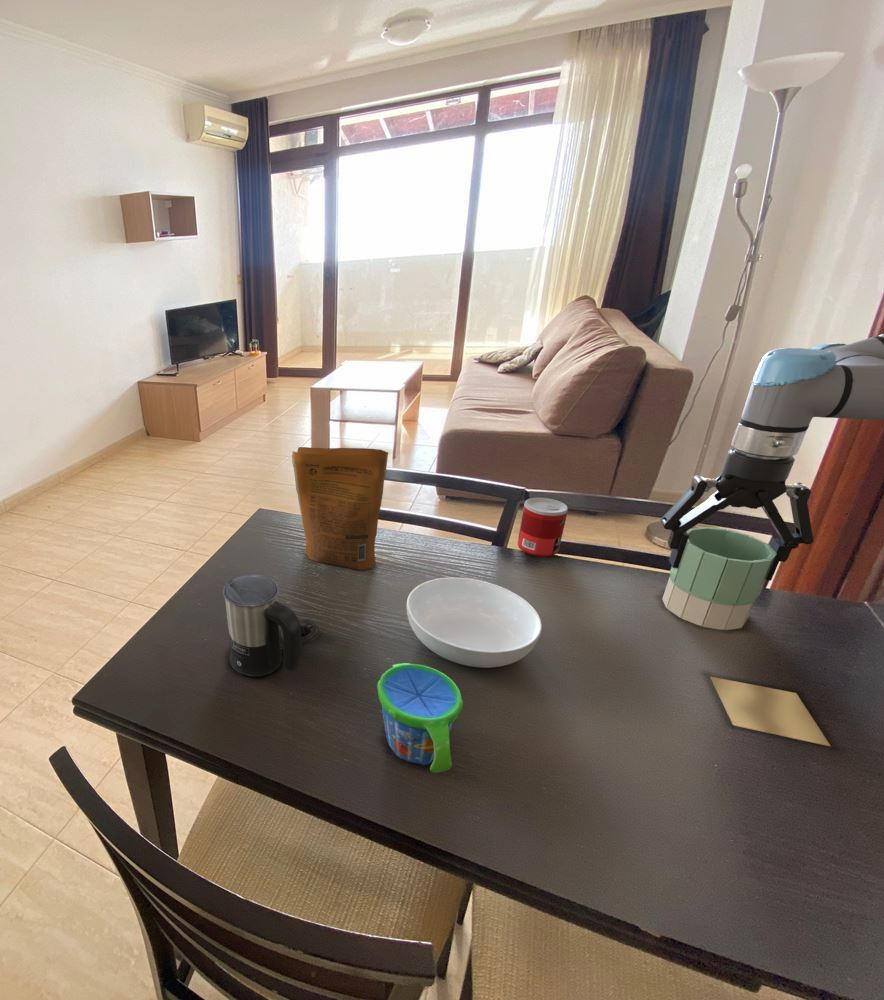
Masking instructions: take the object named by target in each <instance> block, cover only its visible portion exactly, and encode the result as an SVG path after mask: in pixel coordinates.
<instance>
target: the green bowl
mask: <svg viewBox="0 0 884 1000" xmlns="http://www.w3.org/2000/svg"><path fill="white" fill-rule="evenodd" d="M686 532H687V534H688V535H689V538H688V541H687V543H686V546H685V549H684V552H683V555H682V558H681V561H680V564H679V567H678V568H673V567H672V566H671V567H670V569H669V577H670V579H671V581H672V583H673V584H674V585H675V586H677V587H678V588H679V589H681V590H682V591H684V592H686V593H688V594H690V595H692V596H694V597H697V598H699V599H702V600H705V601H709V602H713V603H717V604H723V605H733V606H741V605H748V604H751V603H753V602H754V603H755V602H756V601H757V600H758V598H759V596H760V595H761V593H762V590H763V588H764V586H765V583H766V581H767V580H766V579H767V576H768V574H769V572H770V569H771V567H772V564H773V562H774V560H775V557H776V555H777V553H776V552H775V551H774V550H773V548H772V547H771V546H770V544H769V543H768V542H765V541H763V540H761V539H759V538H757V537H754V536H753V535H750V534H746V533H743V532H739V531H735V530H731V529H727V528H720V527H719V528H718V527H709V526H702V527H692V528H691V529H689V530H688V531H686Z"/></svg>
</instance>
